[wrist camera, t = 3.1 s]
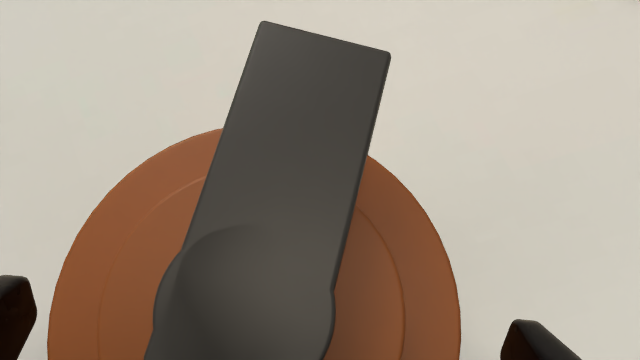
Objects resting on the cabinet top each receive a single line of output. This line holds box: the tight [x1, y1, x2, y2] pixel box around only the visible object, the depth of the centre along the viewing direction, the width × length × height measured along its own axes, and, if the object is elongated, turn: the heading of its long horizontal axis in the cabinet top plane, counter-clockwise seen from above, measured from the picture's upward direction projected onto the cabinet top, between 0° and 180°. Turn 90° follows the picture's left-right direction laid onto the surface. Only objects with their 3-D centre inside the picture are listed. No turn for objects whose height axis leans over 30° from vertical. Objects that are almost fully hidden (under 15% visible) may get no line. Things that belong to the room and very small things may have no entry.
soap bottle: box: [47, 21, 461, 360], centre depth 11 cm, size 7×6×11 cm
